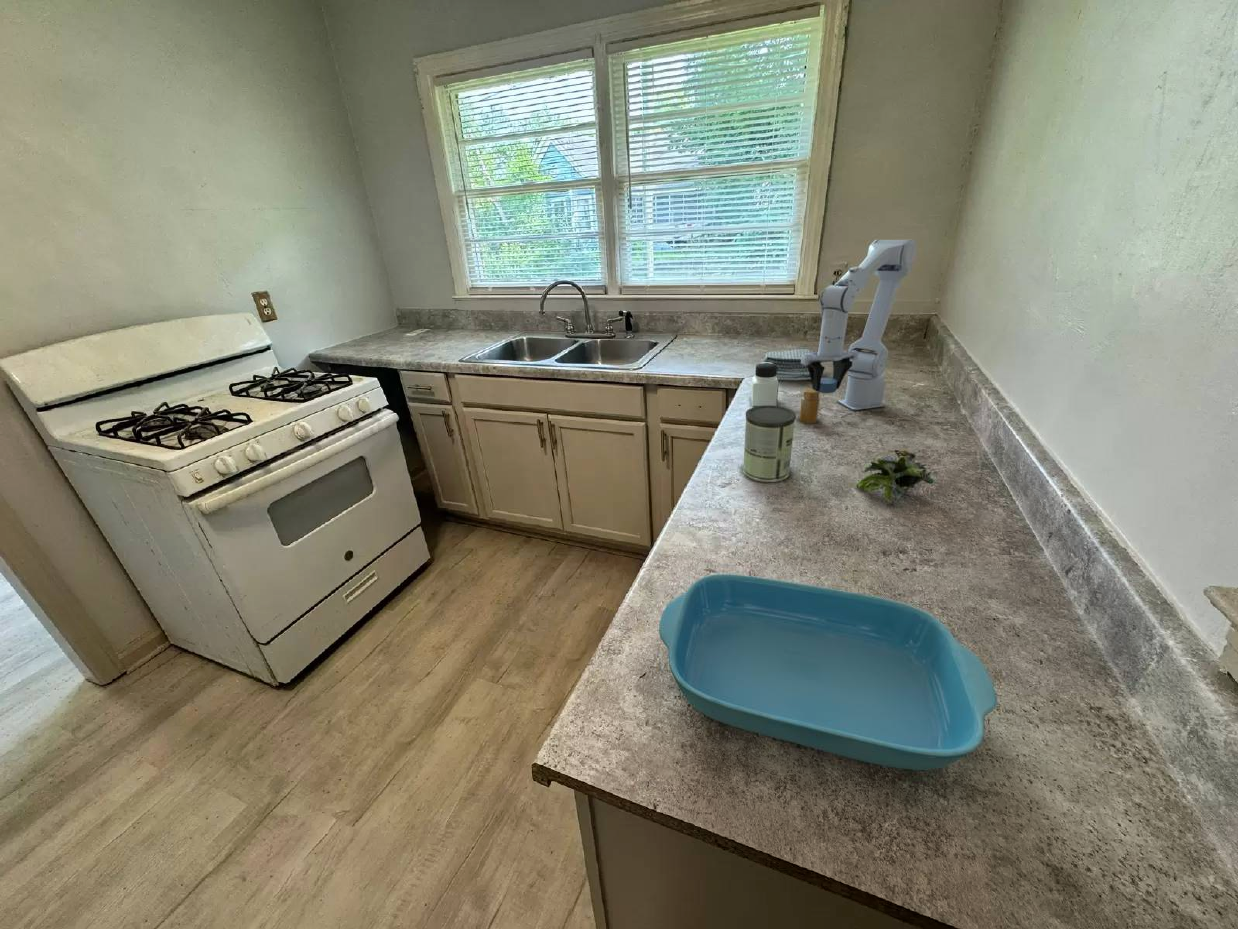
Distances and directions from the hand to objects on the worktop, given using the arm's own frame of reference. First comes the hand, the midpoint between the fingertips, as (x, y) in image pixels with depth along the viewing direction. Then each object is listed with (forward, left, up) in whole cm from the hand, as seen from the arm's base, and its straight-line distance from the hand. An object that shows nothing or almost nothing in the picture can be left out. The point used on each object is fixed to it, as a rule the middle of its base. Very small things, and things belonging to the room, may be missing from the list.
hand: (825, 388), depth 129 cm
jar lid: (0, 0, +2) cm, 2 cm away
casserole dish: (+46, +74, -10) cm, 88 cm away
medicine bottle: (+7, -20, -10) cm, 24 cm away
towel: (-13, -43, -10) cm, 46 cm away
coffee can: (+26, +21, -10) cm, 35 cm away
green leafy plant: (+7, +38, -10) cm, 40 cm away
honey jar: (+2, -3, -10) cm, 11 cm away
